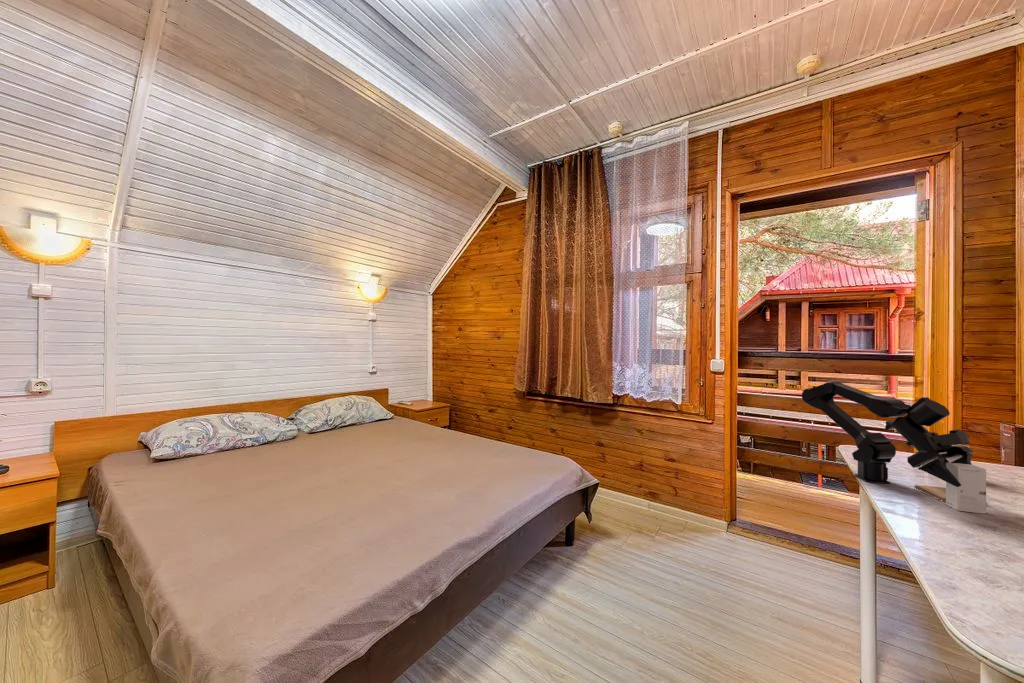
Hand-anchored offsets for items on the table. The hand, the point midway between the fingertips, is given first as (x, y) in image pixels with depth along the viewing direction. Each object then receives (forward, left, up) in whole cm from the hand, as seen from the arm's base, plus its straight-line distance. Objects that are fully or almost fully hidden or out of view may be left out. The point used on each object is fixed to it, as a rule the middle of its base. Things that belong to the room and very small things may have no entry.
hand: (970, 484), depth 101 cm
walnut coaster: (+3, +10, -7) cm, 13 cm away
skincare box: (0, +1, -7) cm, 7 cm away
